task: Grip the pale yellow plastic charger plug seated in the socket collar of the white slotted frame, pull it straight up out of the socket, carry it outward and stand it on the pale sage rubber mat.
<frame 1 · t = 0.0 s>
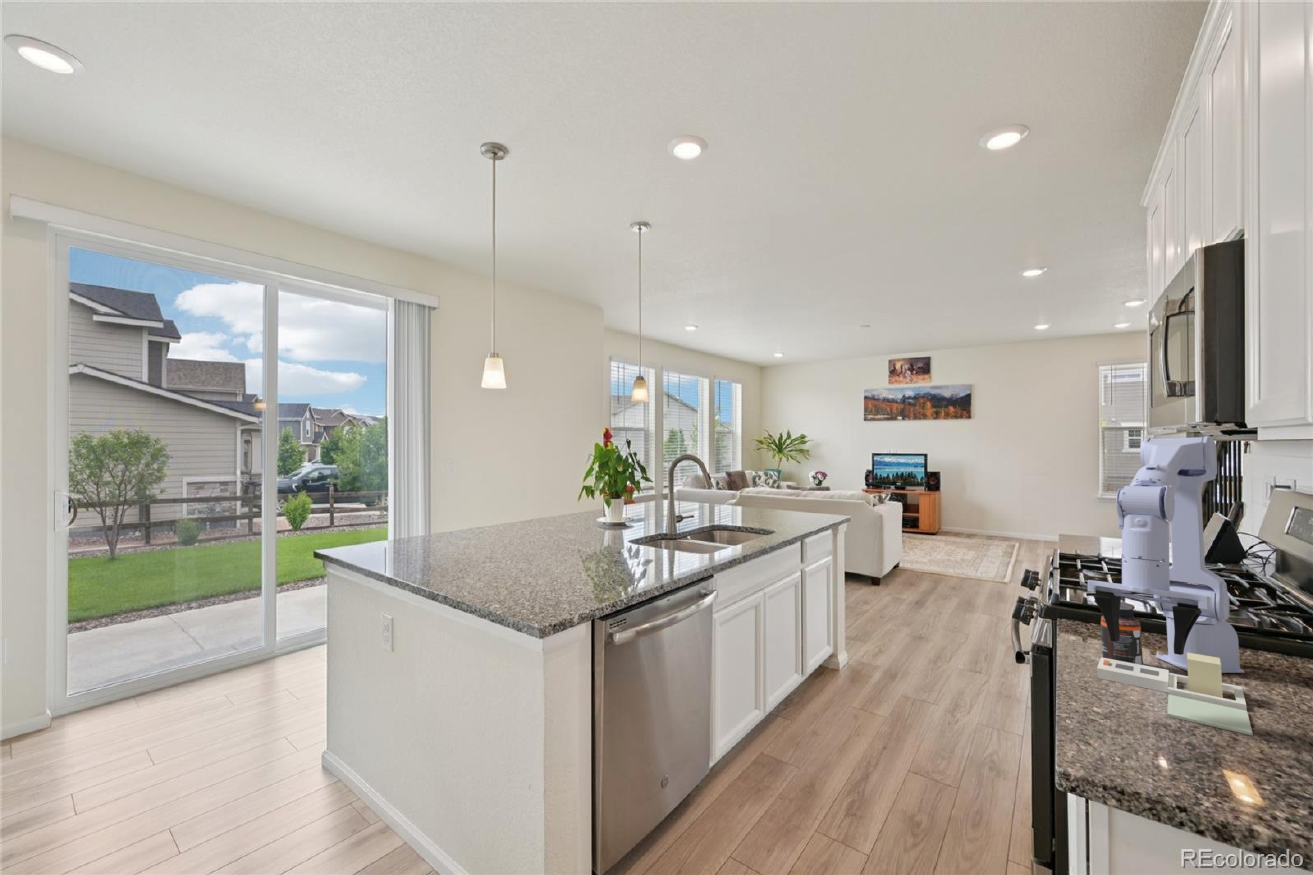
hand: (1145, 647, 86), 11 cm above the countertop, tool pointing down, fingers open, 7 cm apart
supplement bottle: (1122, 666, 105), on the countertop
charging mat: (1207, 714, 85), on the countertop
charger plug: (1205, 694, 92), resting in white slotted frame
white slotted frame: (1205, 693, 92), on the countertop
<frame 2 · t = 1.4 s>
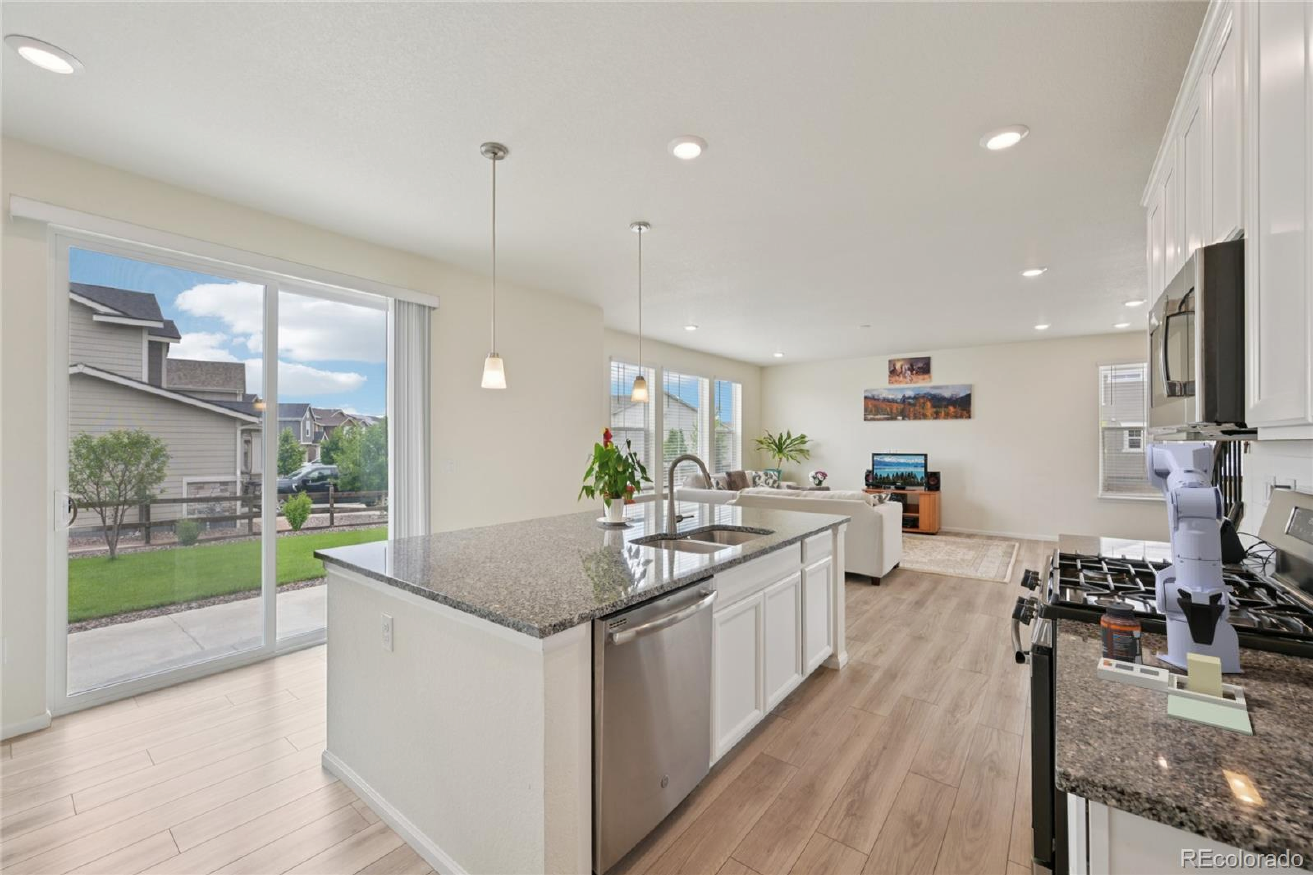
hand: (1202, 637, 93), 9 cm above the countertop, tool pointing down, fingers open, 7 cm apart
nothing on the countertop moved.
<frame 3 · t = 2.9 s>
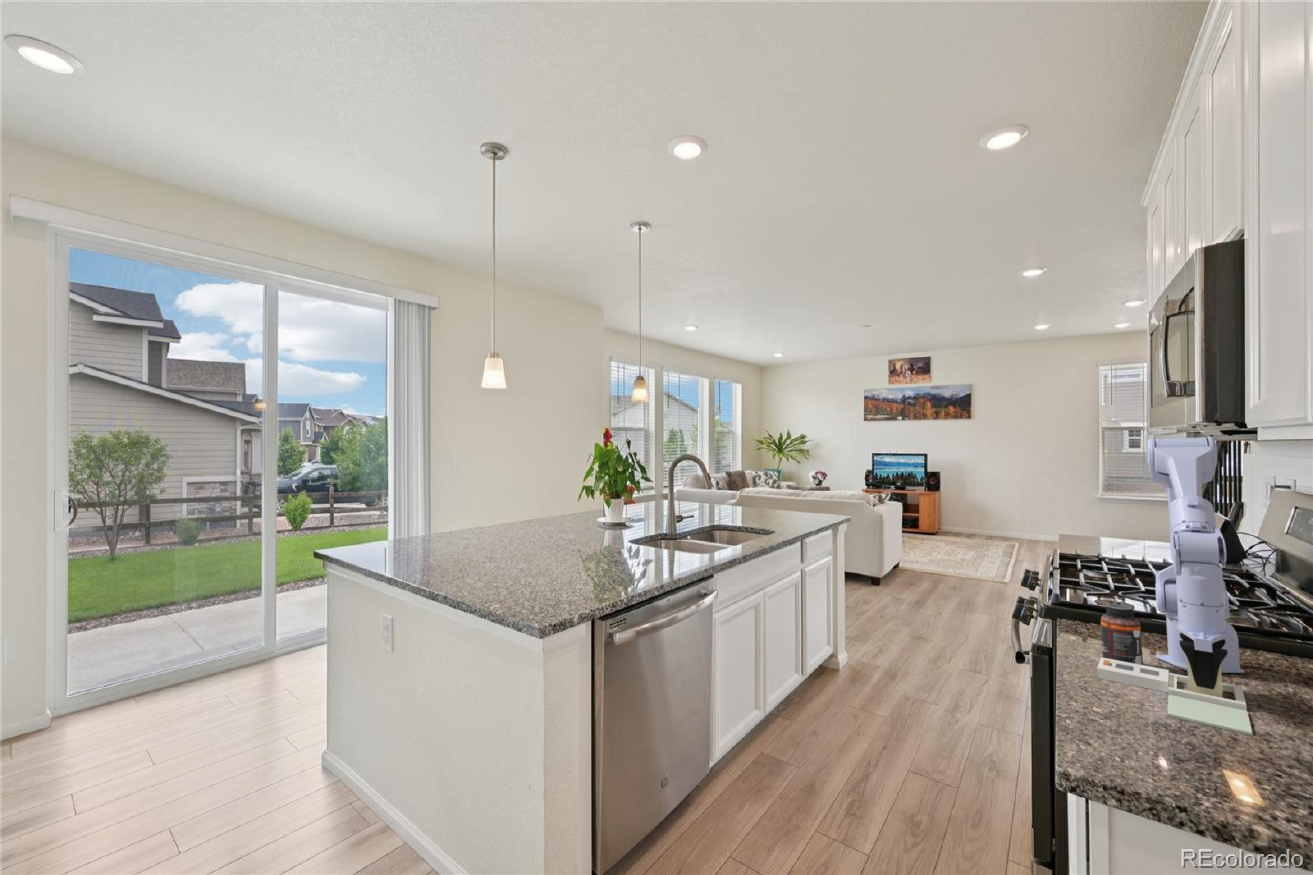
hand: (1204, 682, 92), 2 cm above the countertop, tool pointing down, fingers closed on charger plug, 4 cm apart
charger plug: (1205, 693, 92), resting in white slotted frame, touching gripper
everything else where it was.
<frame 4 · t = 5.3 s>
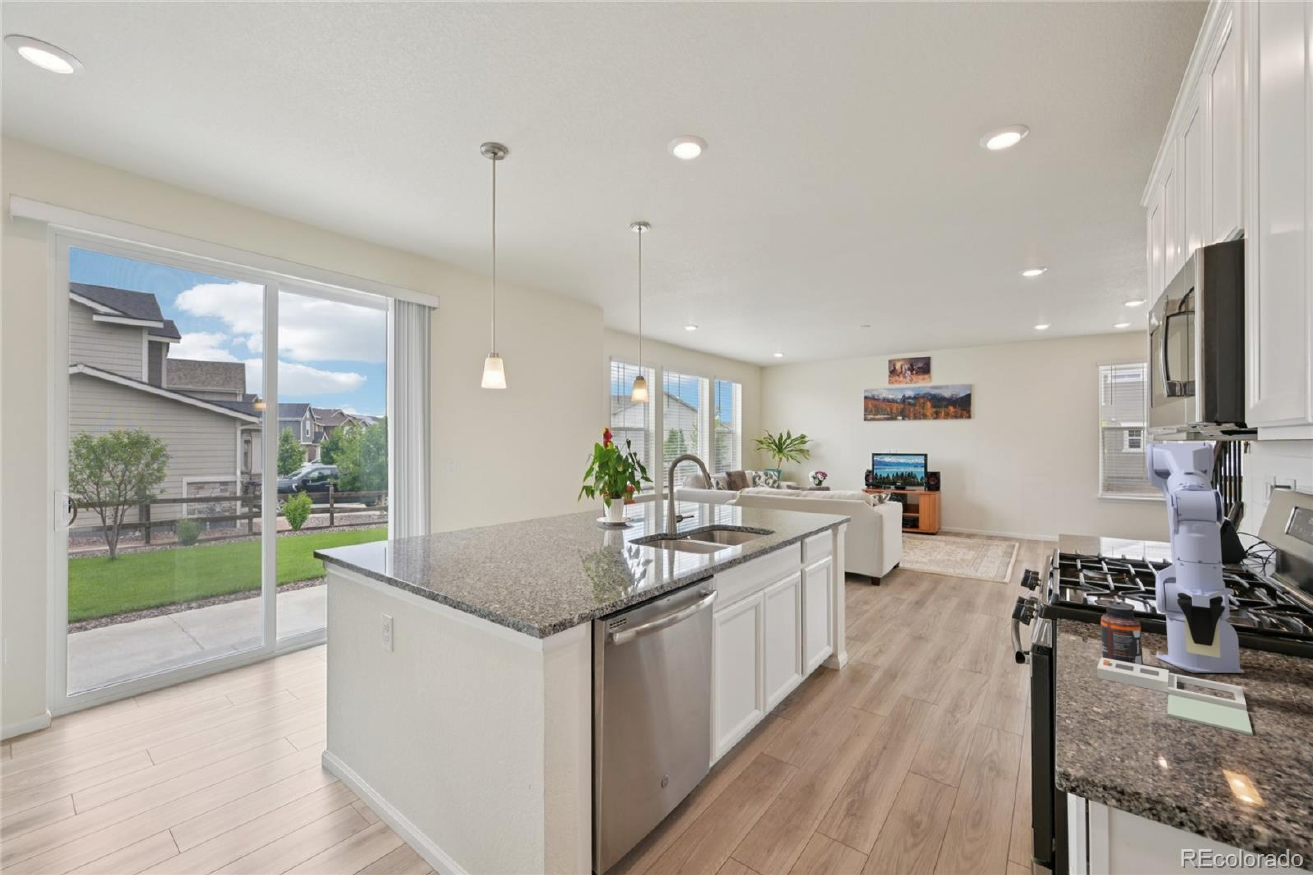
hand: (1202, 640, 93), 9 cm above the countertop, tool pointing down, fingers closed on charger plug, 4 cm apart
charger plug: (1202, 651, 92), point 7 cm above the countertop, touching gripper
everything else where it was.
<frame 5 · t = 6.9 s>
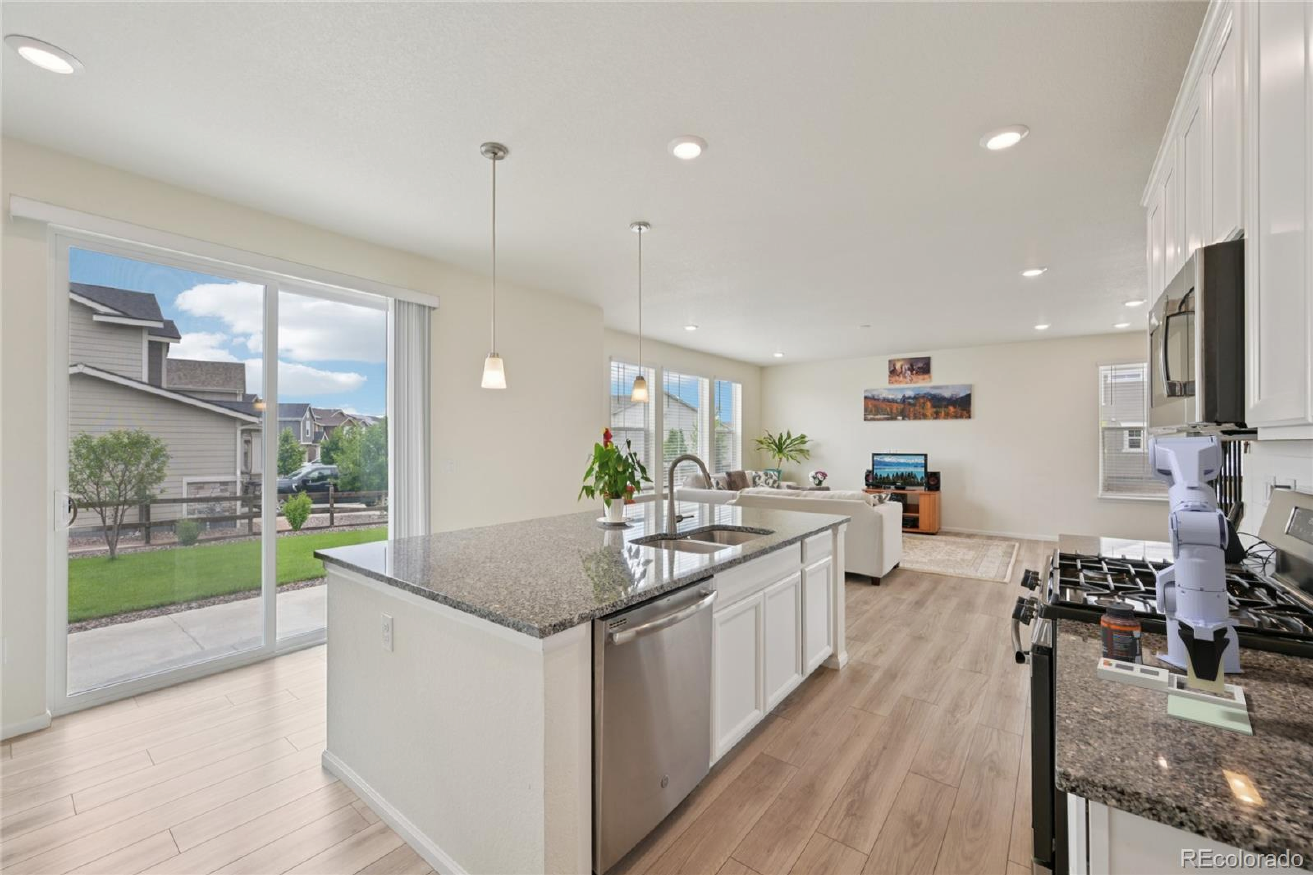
hand: (1205, 674, 85), 6 cm above the countertop, tool pointing down, fingers closed on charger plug, 4 cm apart
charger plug: (1205, 686, 85), point 4 cm above the countertop, touching gripper
everything else where it was.
when the fingers open (3 cm above the countertop, at t = 7.9 s): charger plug drops 1 cm, resting on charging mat.
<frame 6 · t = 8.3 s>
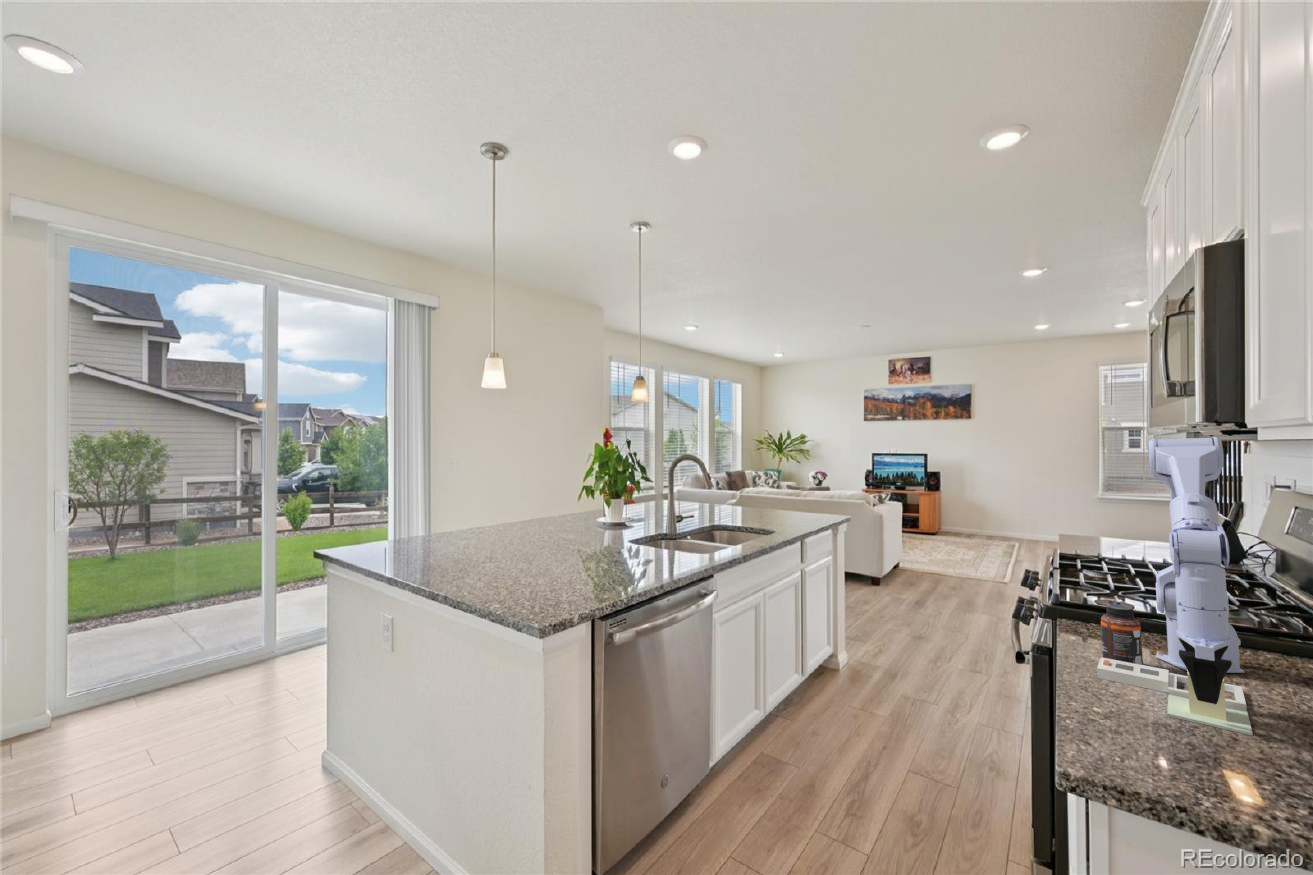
hand: (1206, 693, 85), 3 cm above the countertop, tool pointing down, fingers open, 7 cm apart
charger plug: (1207, 712, 85), resting on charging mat
everything else where it was.
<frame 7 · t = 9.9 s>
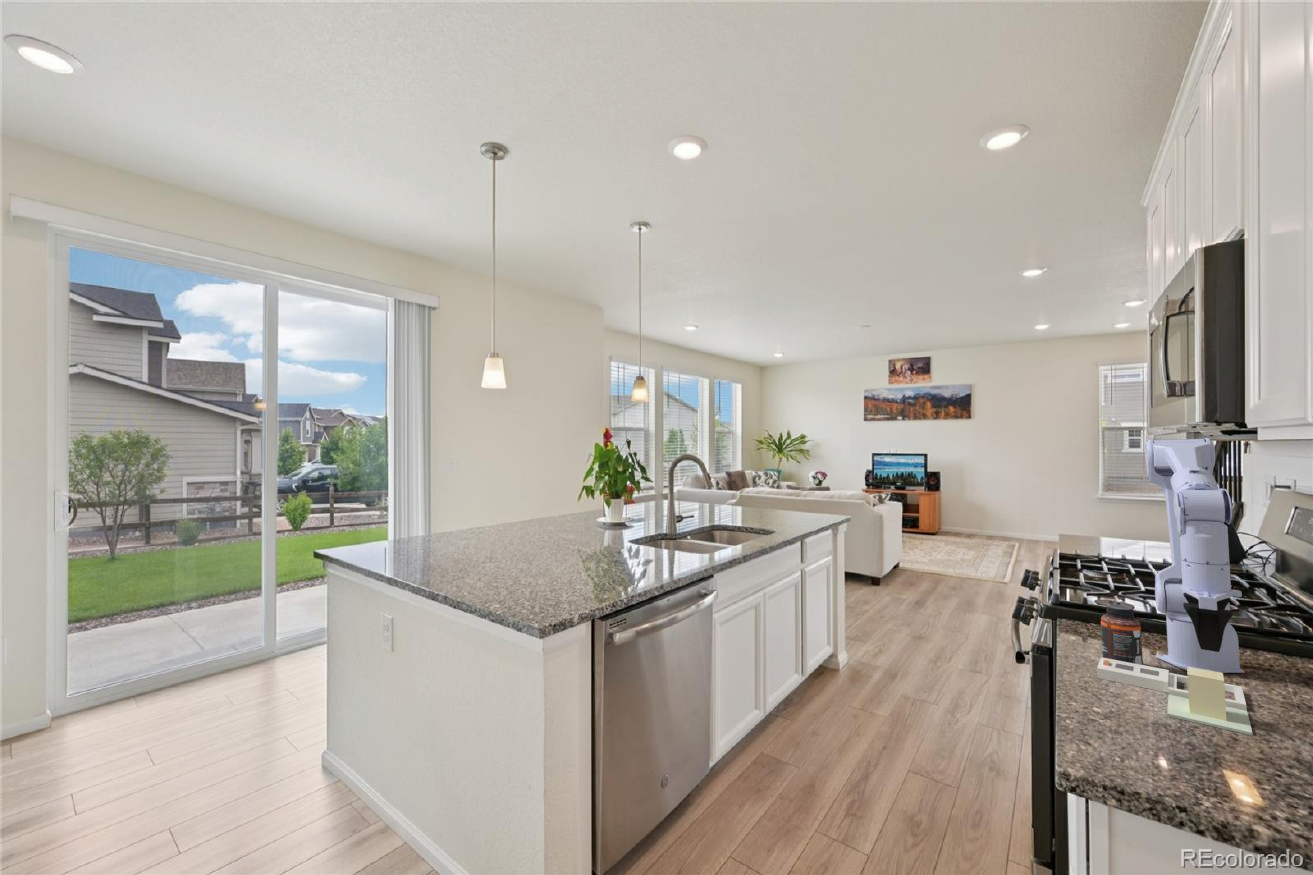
hand: (1209, 643, 90), 9 cm above the countertop, tool pointing down, fingers open, 7 cm apart
nothing on the countertop moved.
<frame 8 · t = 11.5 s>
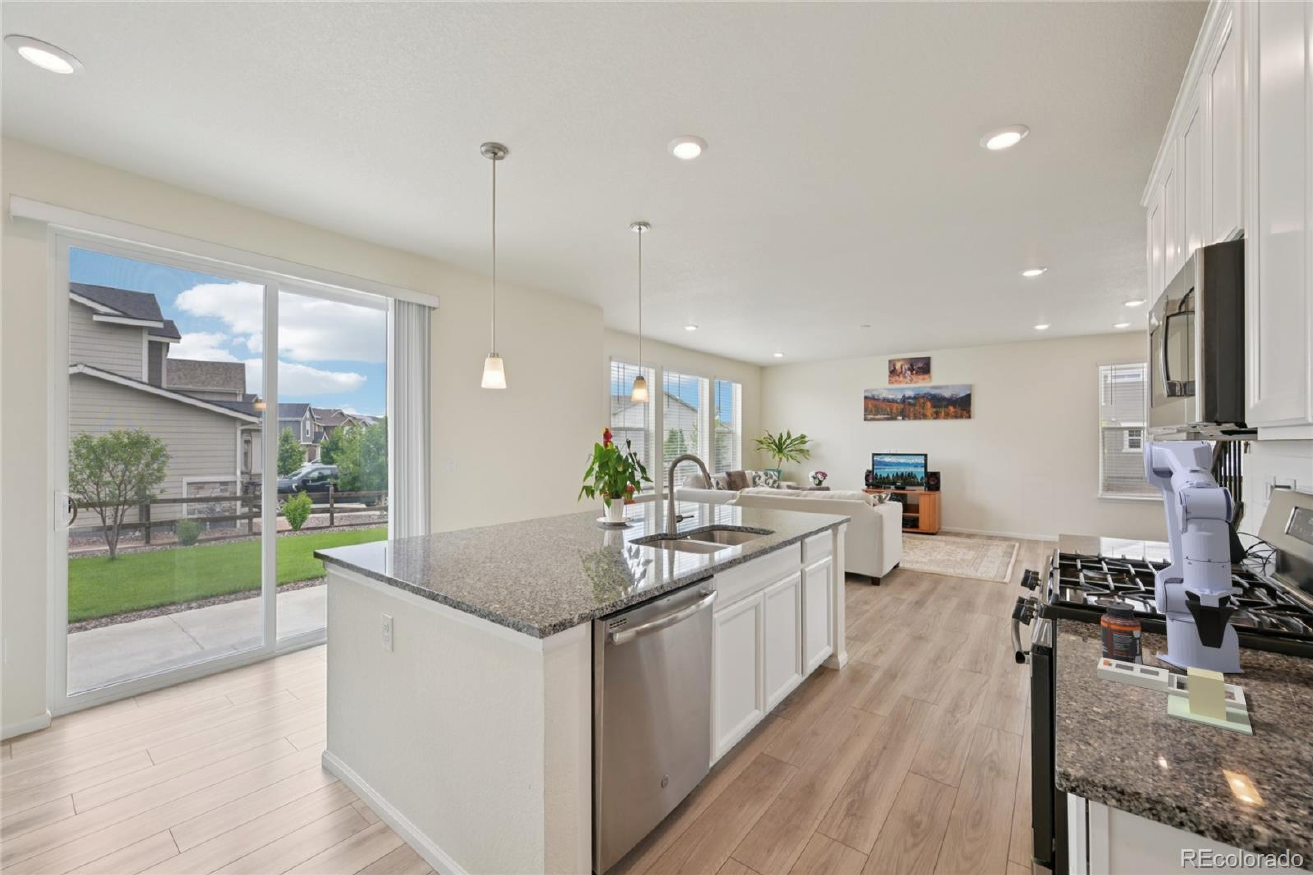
hand: (1210, 640, 91), 9 cm above the countertop, tool pointing down, fingers open, 7 cm apart
nothing on the countertop moved.
at the end: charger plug 0.0 cm off-centre on the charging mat, point 0.4 cm above the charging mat's base; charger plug tilted 0°; the gripper is holding nothing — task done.
